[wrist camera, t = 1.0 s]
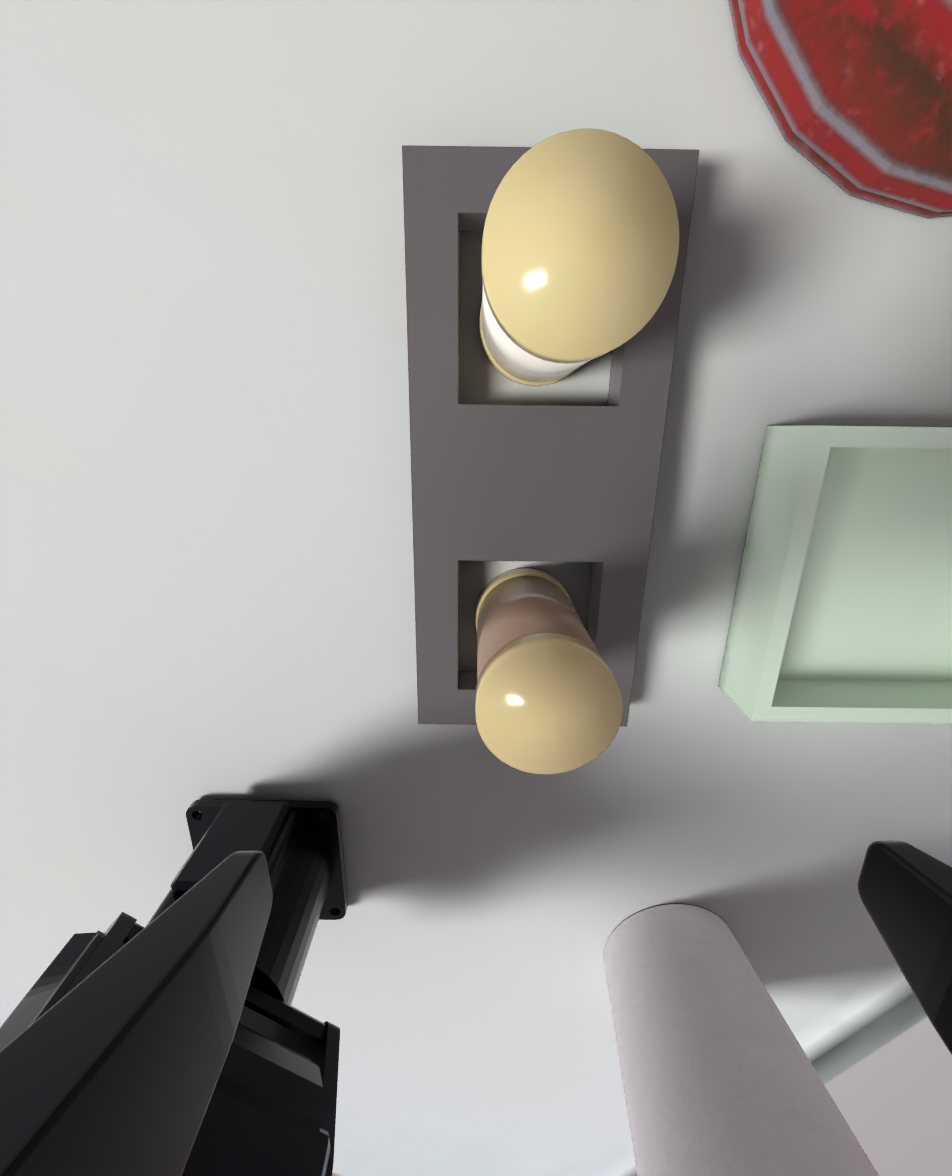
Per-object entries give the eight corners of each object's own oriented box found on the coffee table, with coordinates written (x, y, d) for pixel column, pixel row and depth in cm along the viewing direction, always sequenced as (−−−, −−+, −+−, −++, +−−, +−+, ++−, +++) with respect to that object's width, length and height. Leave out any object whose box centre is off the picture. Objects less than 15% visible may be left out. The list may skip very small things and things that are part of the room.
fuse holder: (617, 706, 20) (626, 726, 19) (422, 704, 20) (418, 723, 19) (679, 175, 14) (699, 149, 13) (409, 171, 14) (402, 146, 13)
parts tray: (964, 688, 20) (1031, 724, 17) (718, 686, 20) (751, 721, 17) (1059, 429, 17) (1155, 430, 14) (767, 425, 17) (815, 425, 14)
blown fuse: (568, 658, 19) (614, 775, 13) (475, 657, 19) (474, 773, 13) (575, 568, 18) (630, 646, 12) (476, 567, 18) (476, 645, 12)
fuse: (589, 387, 16) (665, 359, 10) (478, 385, 16) (480, 357, 10) (599, 258, 15) (693, 129, 9) (480, 257, 15) (483, 126, 9)
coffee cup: (722, 1028, 26) (1015, 1743, 12) (550, 1001, 26) (643, 1722, 11) (797, 897, 23) (1300, 1635, 9) (605, 863, 23) (823, 1599, 8)
